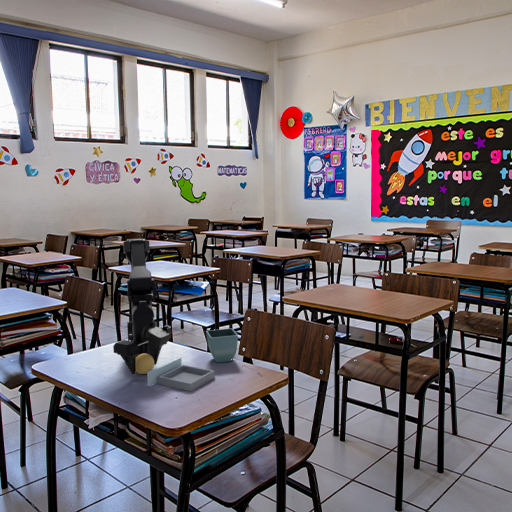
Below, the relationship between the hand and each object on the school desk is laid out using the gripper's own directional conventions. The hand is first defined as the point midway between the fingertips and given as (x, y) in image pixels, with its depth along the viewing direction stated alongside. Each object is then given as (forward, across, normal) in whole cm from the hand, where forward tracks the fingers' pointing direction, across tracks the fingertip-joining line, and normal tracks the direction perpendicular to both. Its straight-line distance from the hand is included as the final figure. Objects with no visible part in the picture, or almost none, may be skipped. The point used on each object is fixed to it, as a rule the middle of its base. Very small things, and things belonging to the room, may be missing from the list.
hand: (144, 369), depth 147 cm
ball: (+1, 0, 0) cm, 1 cm away
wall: (+1, 0, -8) cm, 8 cm away
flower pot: (+2, +21, -14) cm, 25 cm away
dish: (+1, +1, -15) cm, 15 cm away
